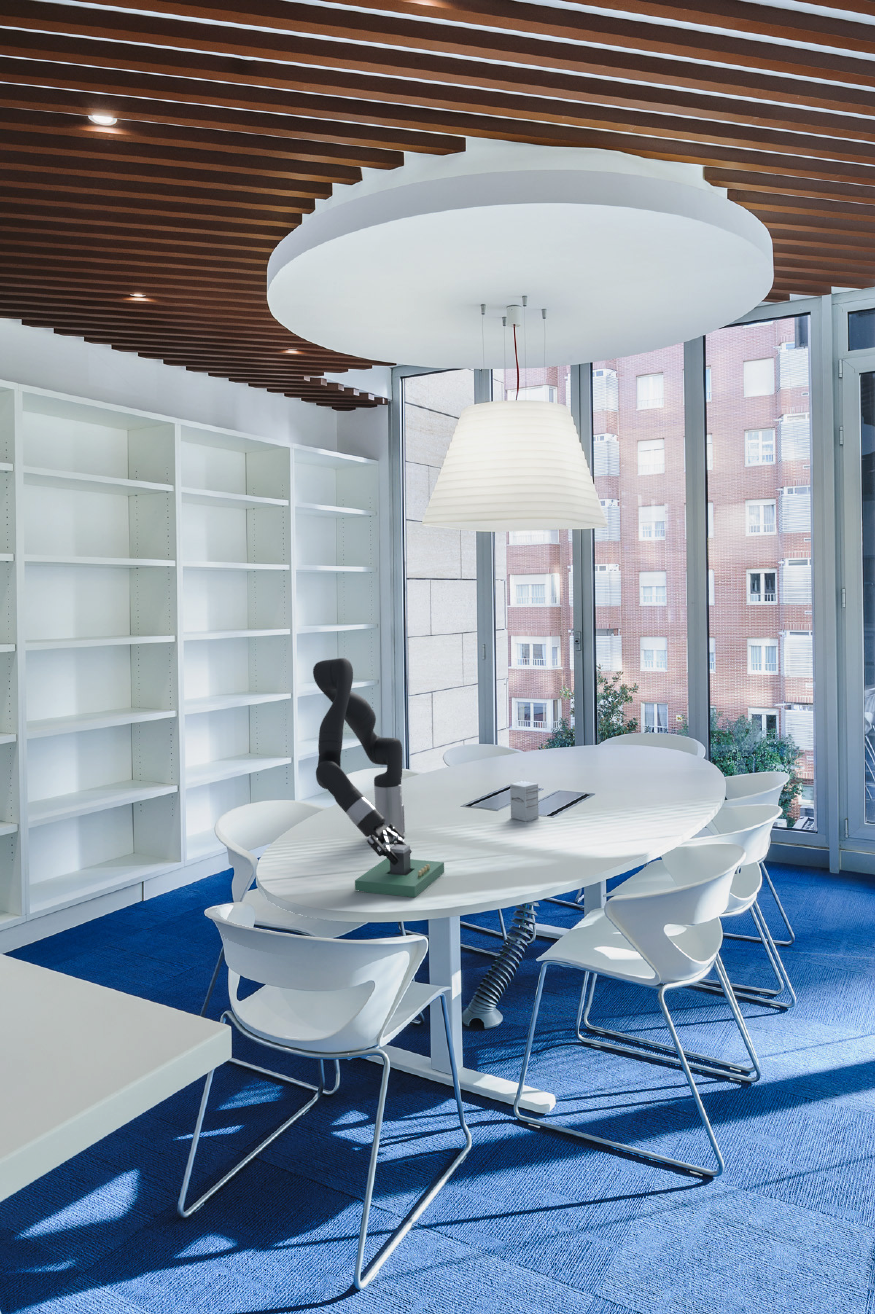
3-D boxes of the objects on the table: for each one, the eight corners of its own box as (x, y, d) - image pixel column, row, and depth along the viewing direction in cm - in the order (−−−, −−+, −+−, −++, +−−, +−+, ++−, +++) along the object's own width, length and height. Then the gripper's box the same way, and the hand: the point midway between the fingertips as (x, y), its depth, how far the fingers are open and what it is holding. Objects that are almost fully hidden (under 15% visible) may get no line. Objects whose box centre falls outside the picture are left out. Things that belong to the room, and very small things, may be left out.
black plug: (397, 878, 253) (395, 844, 252) (411, 879, 251) (409, 845, 250) (390, 883, 249) (389, 848, 248) (404, 884, 247) (403, 849, 246)
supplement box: (510, 818, 315) (509, 783, 314) (524, 814, 320) (523, 780, 319) (525, 822, 309) (524, 786, 308) (539, 817, 314) (538, 783, 313)
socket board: (388, 866, 263) (387, 852, 263) (444, 872, 257) (443, 857, 256) (355, 890, 243) (354, 875, 243) (414, 897, 236) (414, 880, 236)
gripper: (362, 814, 245) (401, 857, 241) (384, 802, 258) (421, 843, 255) (346, 831, 247) (384, 874, 244) (368, 818, 260) (405, 859, 257)
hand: (403, 858), depth 249 cm, fingers open, 8 cm apart
